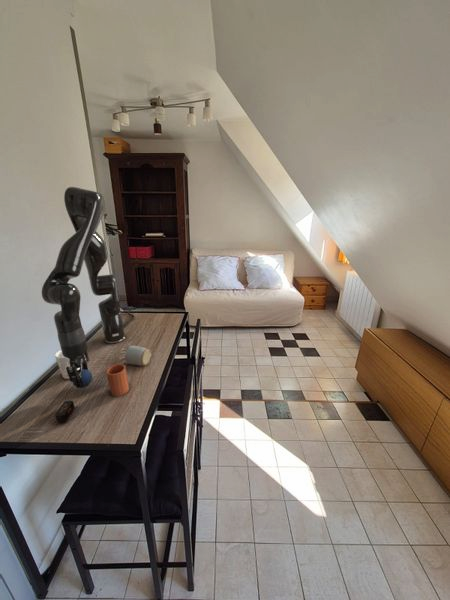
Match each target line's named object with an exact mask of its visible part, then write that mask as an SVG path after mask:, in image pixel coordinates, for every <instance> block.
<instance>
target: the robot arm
mask: <svg viewBox="0 0 450 600" xmlns="http://www.w3.org/2000/svg"><path fill="white" fill-rule="evenodd" d="M63 201H64V207H65V210H66V212H67V215H68V217H69V220H70V223H71V224H72V226H73V229H74V231H75V233H74V234H73V235H71V236H70V237H69V238H67V239H66V241H64V243H63V244H62V245H61V247H60V250H59V252H58V255H57V258H56V262H55V266H54V267H53V269H52V270H51V272H50V273H49V275H48V276H47V278H46V280H45V281H44V283H43V285H42V288H41V297H42V300H43V301H44V302H45V303H47V304H50V305H55V306H56V305H57V306H60V310H59V311H57V312H56V313H55V314H54V315H53V321H54V324H55V328H56V332H57V339H58V342H59V347H60V350H62V354H63V356H64V357H67V358H69V359H70V360H69V364H70V367H67V368H66V370H67V373H68V376H69V379H68V380H69V382H70V383H72V382H73V381H75V385H76V387H75V388H76V389H83V388H82V387H83V386H84V384H83V381H82V376H81V372H82V371H83V369H86V370H89V361H90V358H89V352H88V349H89V347H88V343H87V342H88V341H87V338H86V334H85V330H84V328H83V325H82V321H81V316H80V310H81V292H80V290H79V289H78V287H77V286H76V285H75V284H73V283H70V282H69V281H70V280H71V279H75V278H78V277H80V274H81V272H82V269H83V264H84V265H85V267H86V271H87V275H88V280H89V285H90V290H91V292H92V294H93V295H94V296H99V297H100V296H101V297H102V296H106V295H109V296H108V297H106V298H105V299H102V300H101V301H99V303H98V310H99V316H100V320H101V321H100V322H101V325H102V330H103V336H104V342H105V343H106V344H118V343H121V342H122V341H124V340H125V339H126V334H125V328H126V327H127V326H128V325H129V323H131V322H132V321H133V320H134V319H135V315H134V314H132V313H130V312H131V311H132V310H133V309H134V310H137V308H136V307H135V306H132V307H131V308H129V310H127V315H128V316H131V319H129V320H128V321H127V322H126V323H125V324H124V323H123V317H122V310H121V306H120V304H121V303H120V300H119V294H118V284H117V280H116V276H115V275H114V274H102V275H99V273H100V272H101V270H102V269H103V267H104V266H105V265H106V263H107V262H108V258H109V254H108V249H107V244H106V241H105V240H104V238H103V237H102V236H101V235H100V233H98V231H97V229H98V227H99V225H100V223H101V220H102V218H103V216H104V213H105V206H106V205H105V204H106V203H105V198H104V196H103V195H102V193H100V192H97V191H94V190H90V189H85V188H81V187H75V186H68V187H67V188H66V189H65V191H64V195H63ZM77 368H80V369H79V370H77ZM78 373H79V375H78Z"/></svg>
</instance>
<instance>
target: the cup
mask: <svg viewBox="0 0 450 600" xmlns="http://www.w3.org/2000/svg"><path fill="white" fill-rule="evenodd" d="M105 373H106V379H107V382H108V388H109V392H110V395H112V396H114V397H119V396H123V395H125V394H127V393H128V391H129V390H130V383H129V378H128V373H127V367H126V365H125V364H123V363H117V364H113V365H111V366H109V367H107V368H106V371H105Z"/></svg>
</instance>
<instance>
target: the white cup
mask: <svg viewBox="0 0 450 600" xmlns="http://www.w3.org/2000/svg"><path fill="white" fill-rule="evenodd" d="M54 358H55V360H56V363H57V366H58V369H59V371H60V373H61V375H62V378H63V379H65V380H70V379H69V376H68V373H67V370H66V368H67V367H70V364H69V360H70V359H69V358H67V357H64V356H63V354H62V350H61V349H60V350H58V351H56V352H55V354H54ZM79 369H80V368H77V370H79Z"/></svg>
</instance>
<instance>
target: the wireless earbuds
mask: <svg viewBox="0 0 450 600" xmlns="http://www.w3.org/2000/svg"><path fill="white" fill-rule="evenodd" d="M75 409H76V408H75V402H74V400H65V401H64V402H62V404H61V406H59V408H58V410H57V412H56V413H55V414H54V416H55V420H56V423H57V424H66V423H67V422H68V420H69V419H70V417H71V415H72V413H73V412H74V411H75Z"/></svg>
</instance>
